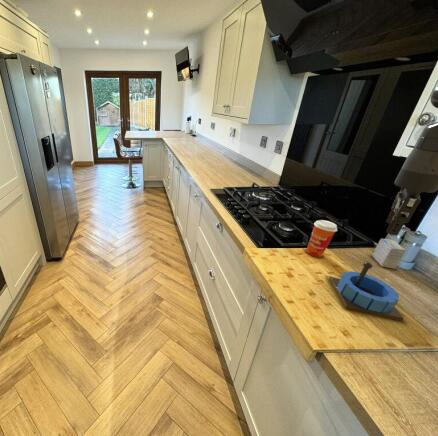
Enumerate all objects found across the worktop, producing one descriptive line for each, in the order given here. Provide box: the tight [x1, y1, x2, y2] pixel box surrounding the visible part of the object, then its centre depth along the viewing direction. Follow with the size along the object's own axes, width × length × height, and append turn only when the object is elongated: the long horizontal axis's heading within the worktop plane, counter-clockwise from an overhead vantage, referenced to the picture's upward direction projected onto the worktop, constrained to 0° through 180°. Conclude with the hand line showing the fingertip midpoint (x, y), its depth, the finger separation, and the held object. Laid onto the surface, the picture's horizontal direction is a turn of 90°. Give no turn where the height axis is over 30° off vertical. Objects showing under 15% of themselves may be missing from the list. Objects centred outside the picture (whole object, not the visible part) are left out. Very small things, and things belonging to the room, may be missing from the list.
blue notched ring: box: [337, 271, 400, 312], centre depth 74 cm, size 14×14×4 cm
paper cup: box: [306, 219, 338, 258], centre depth 95 cm, size 8×8×14 cm
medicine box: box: [371, 238, 407, 270], centre depth 92 cm, size 8×4×9 cm, turn 161°
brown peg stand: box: [328, 261, 405, 322], centre depth 72 cm, size 14×14×13 cm
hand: (390, 228), depth 64 cm, fingers open, 8 cm apart
